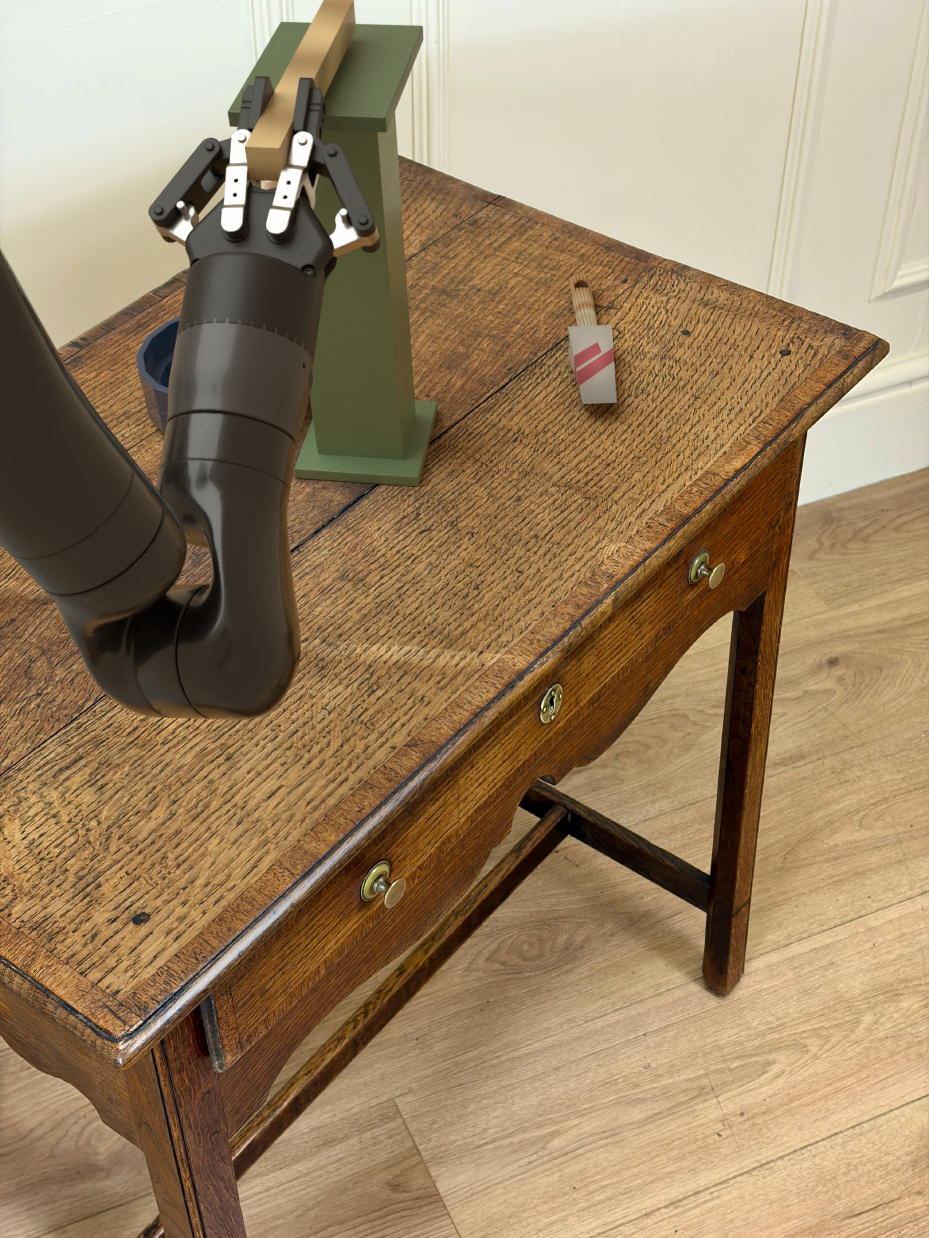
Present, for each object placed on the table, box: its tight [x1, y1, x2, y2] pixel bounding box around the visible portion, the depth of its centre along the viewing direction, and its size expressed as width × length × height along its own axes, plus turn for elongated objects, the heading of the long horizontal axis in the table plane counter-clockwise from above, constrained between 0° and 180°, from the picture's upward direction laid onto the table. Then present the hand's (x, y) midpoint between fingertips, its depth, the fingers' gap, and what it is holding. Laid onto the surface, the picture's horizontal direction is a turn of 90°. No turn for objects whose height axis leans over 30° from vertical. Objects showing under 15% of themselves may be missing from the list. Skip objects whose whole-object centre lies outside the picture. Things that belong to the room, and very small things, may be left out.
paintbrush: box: [567, 272, 618, 405], centre depth 114 cm, size 4×3×20 cm
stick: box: [244, 0, 357, 182], centre depth 79 cm, size 21×2×2 cm, turn 172°
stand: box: [227, 21, 439, 487], centre depth 96 cm, size 10×14×31 cm
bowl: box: [135, 315, 180, 435], centre depth 109 cm, size 13×13×6 cm
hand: (287, 86), depth 75 cm, fingers closed on stick, 2 cm apart
